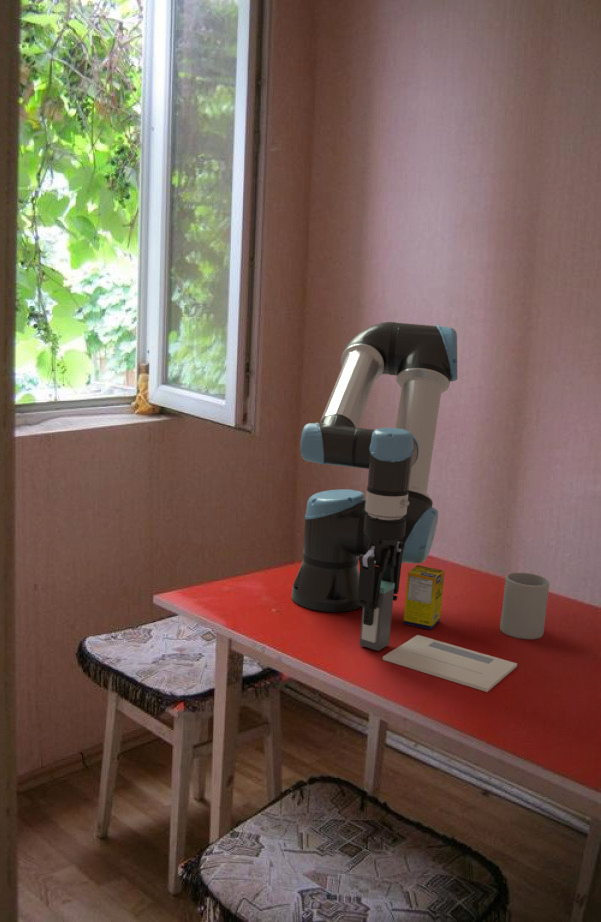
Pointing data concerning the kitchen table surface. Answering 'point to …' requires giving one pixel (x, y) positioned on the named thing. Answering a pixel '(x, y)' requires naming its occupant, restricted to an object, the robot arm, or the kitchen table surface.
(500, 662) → the paper pad
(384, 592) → the grey teal-topped block
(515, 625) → the mug
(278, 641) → the kitchen table surface
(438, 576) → the supplement box
